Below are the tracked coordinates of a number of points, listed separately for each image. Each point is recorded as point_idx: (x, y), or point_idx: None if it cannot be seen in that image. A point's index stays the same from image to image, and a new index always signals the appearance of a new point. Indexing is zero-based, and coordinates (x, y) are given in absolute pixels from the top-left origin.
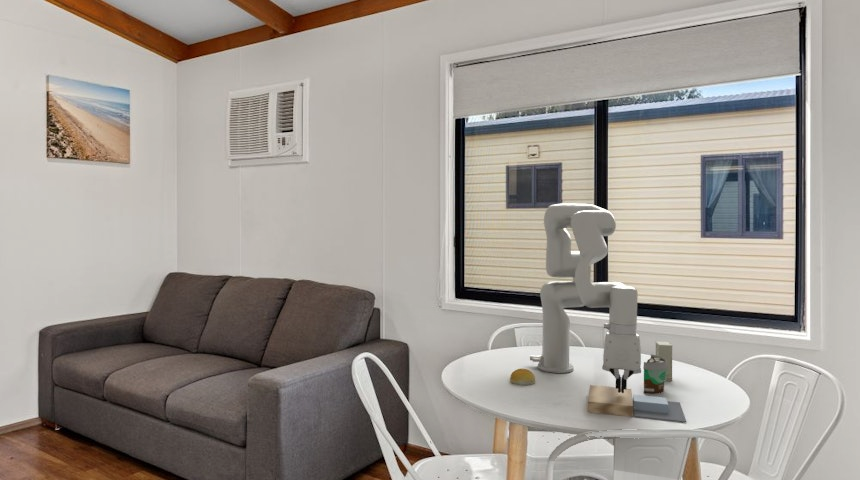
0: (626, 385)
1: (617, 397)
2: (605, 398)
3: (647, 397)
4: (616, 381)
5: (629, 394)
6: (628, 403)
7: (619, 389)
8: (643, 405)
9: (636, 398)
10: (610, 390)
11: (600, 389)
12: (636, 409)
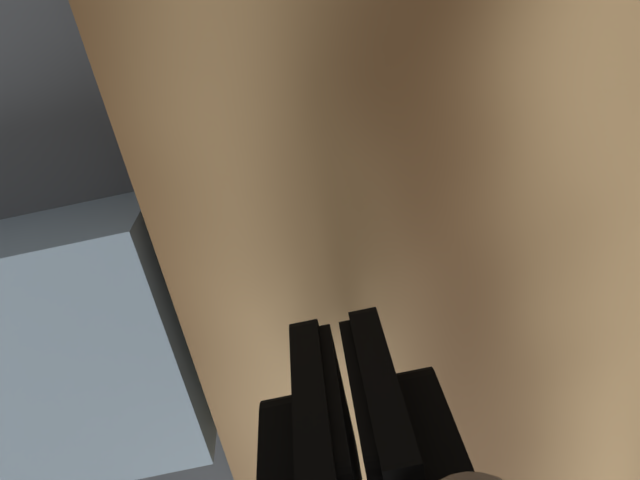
0: (259, 441)
1: (367, 248)
2: (526, 107)
3: (24, 448)
4: (451, 447)
5: (249, 435)
6: (155, 48)
7: (361, 333)
8: (16, 237)
9: (130, 348)
10: (488, 455)
11: (607, 431)
12: (118, 195)
